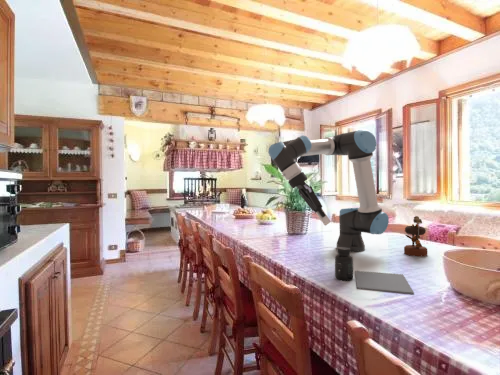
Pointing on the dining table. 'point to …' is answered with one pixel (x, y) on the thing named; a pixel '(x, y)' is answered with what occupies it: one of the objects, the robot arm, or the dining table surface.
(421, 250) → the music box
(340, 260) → the supplement bottle
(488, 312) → the dining table surface
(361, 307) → the dining table surface
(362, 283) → the mat
